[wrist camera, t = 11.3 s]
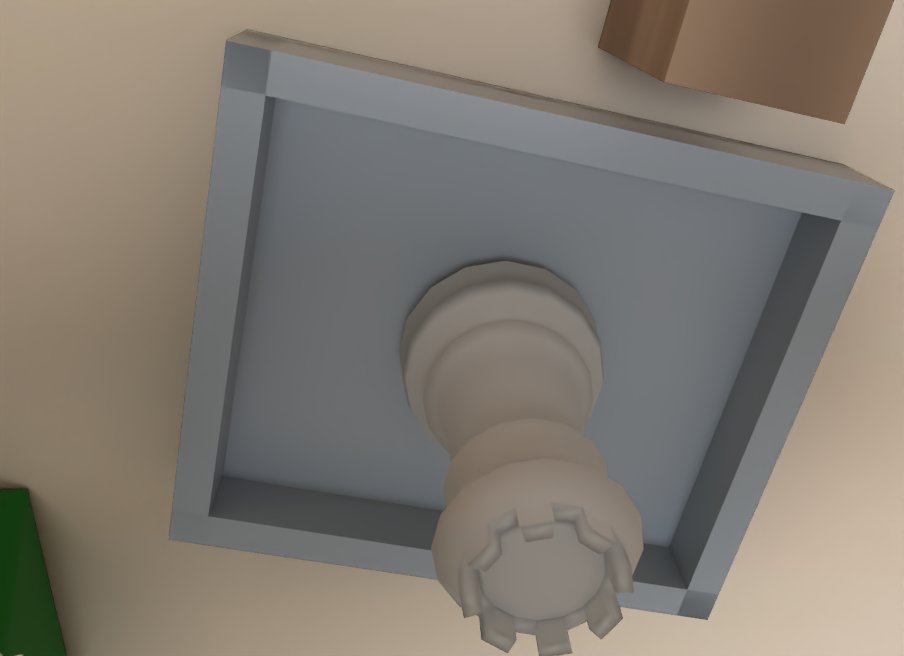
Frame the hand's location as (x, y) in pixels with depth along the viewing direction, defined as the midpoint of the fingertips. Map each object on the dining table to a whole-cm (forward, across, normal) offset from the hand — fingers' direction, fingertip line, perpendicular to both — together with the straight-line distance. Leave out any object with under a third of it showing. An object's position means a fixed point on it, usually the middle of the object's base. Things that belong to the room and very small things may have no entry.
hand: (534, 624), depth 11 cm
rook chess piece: (+9, 0, 0) cm, 9 cm away
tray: (+10, 0, 0) cm, 10 cm away
